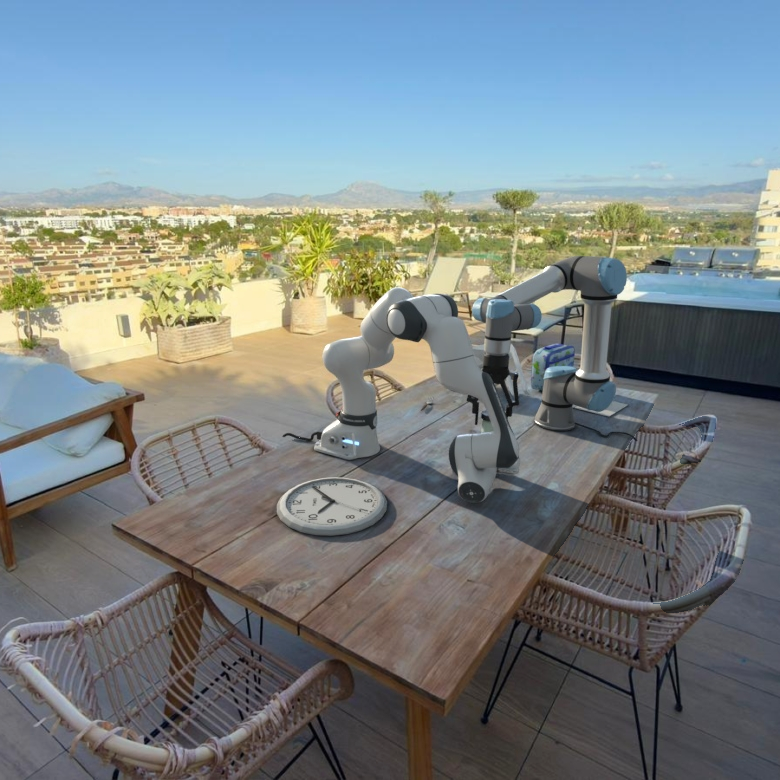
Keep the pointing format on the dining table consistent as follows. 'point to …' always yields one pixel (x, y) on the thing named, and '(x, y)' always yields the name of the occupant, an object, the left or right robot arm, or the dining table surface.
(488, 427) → the bottle
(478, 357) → the white plastic object
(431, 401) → the fork
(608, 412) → the invitation card
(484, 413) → the lid
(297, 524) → the wall clock
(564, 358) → the lunch box
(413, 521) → the dining table surface
